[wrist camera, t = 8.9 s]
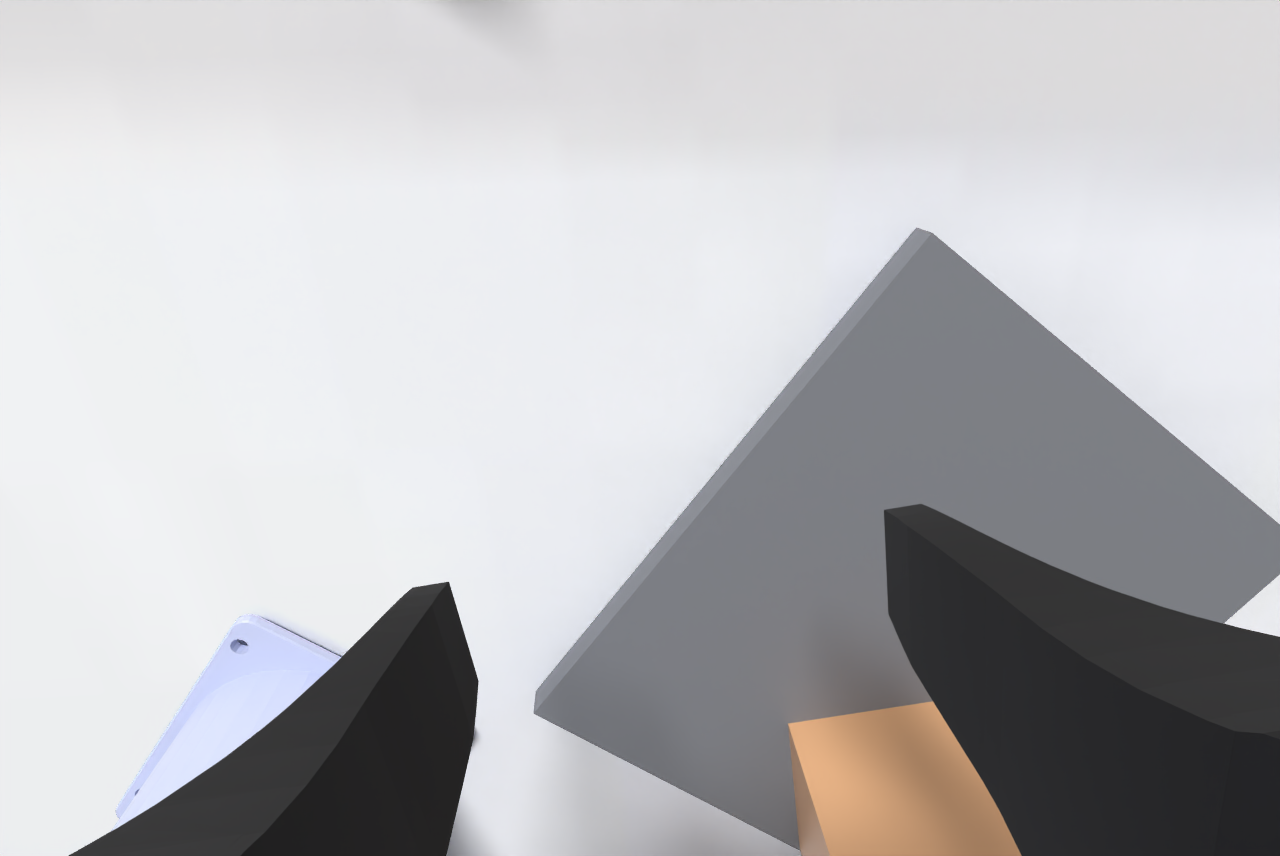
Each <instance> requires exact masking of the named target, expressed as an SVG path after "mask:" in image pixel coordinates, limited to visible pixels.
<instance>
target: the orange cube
mask: <svg viewBox="0 0 1280 856" xmlns="http://www.w3.org/2000/svg"><path fill="white" fill-rule="evenodd" d="M788 729H789V740H790V750H791V761H792V772H793V782H794V793H795V803H796V814H797V824H798V835H799V845H800V851H801V854H802V856H1021V854H1020V852H1019V849H1018V847H1017V845H1016V843H1015V841H1014V839H1013V837H1012V835H1011V833H1010V831H1009V829H1008V827H1007V825H1006V823H1005V821H1004V819H1003V817H1002V815H1001V813H1000V811H999V809H998V807H997V805H996V804H995V802H994V800H993V798H992V797H991V795H990V793H989V791H988V790H987V788H986V786H985V784H984V783H983V781H982V779H981V778H980V776H979V774H978V773H977V771H976V770H975V768H974V766H973V765H972V763H971V762H970V760H969V758H968V757H967V755H966V754H965V752H964V750H963V749H962V747H961V746H960V744H959V742H958V741H957V739H956V738H955V736H954V734H953V733H952V731H951V730H950V728H949V726H948V725H947V723H946V722H945V720H944V718H943V717H942V715H941V714H940V712H939V710H938V709H937V707H936V706H935V704H934V702H933V701H932V702H925V703H919V704H912V705H906V706H899V707H893V708H886V709H880V710H873V711H867V712H860V713H854V714H847V715H841V716H834V717H828V718H821V719H815V720H808V721H802V722H795V723H789V724H788Z"/></svg>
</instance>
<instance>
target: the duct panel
mask: <svg viewBox="0 0 1280 856" xmlns="http://www.w3.org/2000/svg"><path fill="white" fill-rule="evenodd" d="M916 504H923V505H926V506H928V507H930V508H933V509H935V510H937V511H939V512H941V513H943V514H945V515H947V516H949V517H951V518H953V519H956V520H958V521H960V522H962V523H964V524H966V525H967V526H969V527H971V528H973V529H975V530H977V531H979V532H981V533H983V534H985V535H987V536H990V537H992V538H994V539H996V540H998V541H1000V542H1002V543H1004V544H1006V545H1008V546H1010V547H1012V548H1014V549H1016V550H1018V551H1021V552H1023V553H1025V554H1027V555H1029V556H1031V557H1034V558H1036V559H1038V560H1040V561H1042V562H1045V563H1047V564H1049V565H1051V566H1054V567H1056V568H1059V569H1061V570H1063V571H1066V572H1068V573H1071V574H1073V575H1075V576H1078V577H1080V578H1083V579H1085V580H1087V581H1090V582H1093V583H1095V584H1098V585H1101V586H1103V587H1106V588H1109V589H1111V590H1114V591H1117V592H1120V593H1123V594H1126V595H1129V596H1132V597H1135V598H1138V599H1141V600H1144V601H1147V602H1150V603H1153V604H1156V605H1159V606H1162V607H1165V608H1168V609H1172V610H1175V611H1179V612H1182V613H1185V614H1189V615H1192V616H1196V617H1200V618H1204V619H1208V620H1212V621H1215V622H1219V623H1224V622H1226V621H1227V620H1228V619H1229V618H1230V617H1231V616H1232V615H1234V614H1235V613H1236V612H1237V611H1238V610H1239V609H1240V608H1242V607H1243V606H1244V605H1245V604H1246V603H1247V602H1248V601H1250V600H1251V599H1252V598H1253V597H1254V596H1255V595H1256V594H1258V593H1259V592H1260V591H1261V590H1262V589H1263V588H1264V587H1266V586H1267V585H1268V584H1269V583H1270V582H1271V581H1272V580H1274V579H1275V578H1276V577H1277V576H1278V575H1279V574H1280V524H1278V523H1277V522H1276V521H1275V520H1274V519H1272V518H1271V517H1270V516H1269V515H1268V514H1266V513H1265V512H1264V511H1263V510H1262V509H1261V508H1259V507H1258V506H1257V505H1256V504H1255V503H1253V502H1252V501H1251V500H1250V499H1249V498H1247V497H1246V496H1245V495H1244V494H1243V493H1241V492H1240V491H1239V490H1238V489H1237V488H1236V487H1234V486H1233V485H1232V484H1231V483H1230V482H1228V481H1227V480H1226V479H1225V478H1224V477H1222V476H1221V475H1220V474H1219V473H1218V472H1216V471H1215V470H1214V469H1213V468H1212V467H1210V466H1209V465H1208V464H1207V463H1206V462H1205V461H1203V460H1202V459H1201V458H1200V457H1199V456H1197V455H1196V454H1195V453H1194V452H1193V451H1191V450H1190V449H1189V448H1188V447H1187V446H1185V445H1184V444H1183V443H1182V442H1181V441H1180V440H1178V439H1177V438H1176V437H1175V436H1174V435H1172V434H1171V433H1170V432H1169V431H1168V430H1166V429H1165V428H1164V427H1163V426H1162V425H1160V424H1159V423H1158V422H1157V421H1156V420H1155V419H1153V418H1152V417H1151V416H1150V415H1149V414H1147V413H1146V412H1145V411H1144V410H1143V409H1141V408H1140V407H1139V406H1138V405H1137V404H1135V403H1134V402H1133V401H1132V400H1131V399H1129V398H1128V397H1127V396H1126V395H1125V394H1124V393H1122V392H1121V391H1120V390H1119V389H1118V388H1116V387H1115V386H1114V385H1113V384H1112V383H1110V382H1109V381H1108V380H1107V379H1106V378H1104V377H1103V376H1102V375H1101V374H1100V373H1099V372H1097V371H1096V370H1095V369H1094V368H1093V367H1091V366H1090V365H1089V364H1088V363H1087V362H1085V361H1084V360H1083V359H1082V358H1081V357H1079V356H1078V355H1077V354H1076V353H1075V352H1073V351H1072V350H1071V349H1070V348H1069V347H1068V346H1066V345H1065V344H1064V343H1063V342H1062V341H1060V340H1059V339H1058V338H1057V337H1056V336H1054V335H1053V334H1052V333H1051V332H1050V331H1048V330H1047V329H1046V328H1045V327H1044V326H1043V325H1041V324H1040V323H1039V322H1038V321H1037V320H1035V319H1034V318H1033V317H1032V316H1031V315H1029V314H1028V313H1027V312H1026V311H1025V310H1023V309H1022V308H1021V307H1020V306H1019V305H1017V304H1016V303H1015V302H1014V301H1013V300H1012V299H1010V298H1009V297H1008V296H1007V295H1006V294H1004V293H1003V292H1002V291H1001V290H1000V289H998V288H997V287H996V286H995V285H994V284H992V283H991V282H990V281H989V280H988V279H987V278H985V277H984V276H983V275H982V274H981V273H979V272H978V271H977V270H976V269H975V268H973V267H972V266H971V265H970V264H969V263H967V262H966V261H965V260H964V259H963V258H962V257H960V256H959V255H958V254H957V253H956V252H954V251H953V250H952V249H951V248H950V247H948V246H947V245H946V244H945V243H944V242H942V241H941V240H940V239H939V238H938V237H936V236H935V235H934V234H933V233H931V232H928V231H925V230H922V229H919V228H916V229H915V230H914V231H913V233H912V234H911V235H910V236H909V237H908V239H907V240H906V241H905V242H904V244H903V245H902V246H901V247H900V248H899V250H898V251H897V252H896V253H895V254H894V256H893V257H892V258H891V259H890V261H889V262H888V263H887V264H886V265H885V267H884V268H883V269H882V270H881V272H880V273H879V274H878V275H877V276H876V278H875V279H874V280H873V281H872V283H871V284H870V285H869V286H868V287H867V289H866V290H865V291H864V292H863V293H862V295H861V296H860V297H859V298H858V300H857V301H856V302H855V303H854V304H853V306H852V307H851V308H850V309H849V311H848V312H847V313H846V314H845V315H844V317H843V318H842V319H841V320H840V321H839V323H838V324H837V325H836V326H835V328H834V329H833V330H832V331H831V332H830V334H829V335H828V336H827V337H826V339H825V340H824V341H823V342H822V343H821V345H820V346H819V347H818V348H817V350H816V351H815V352H814V353H813V354H812V356H811V357H810V358H809V359H808V360H807V362H806V363H805V364H804V365H803V367H802V368H801V369H800V370H799V371H798V373H797V374H796V375H795V376H794V378H793V379H792V380H791V381H790V382H789V384H788V385H787V386H786V387H785V389H784V390H783V391H782V392H781V393H780V395H779V396H778V397H777V398H776V399H775V401H774V402H773V403H772V404H771V406H770V407H769V408H768V409H767V410H766V412H765V413H764V414H763V415H762V417H761V418H760V419H759V420H758V421H757V423H756V424H755V425H754V426H753V428H752V429H751V430H750V431H749V432H748V434H747V435H746V436H745V437H744V438H743V440H742V441H741V442H740V443H739V445H738V446H737V447H736V448H735V449H734V451H733V452H732V453H731V454H730V456H729V457H728V458H727V459H726V460H725V462H724V463H723V464H722V465H721V466H720V468H719V469H718V470H717V471H716V473H715V474H714V475H713V476H712V477H711V479H710V480H709V481H708V482H707V484H706V485H705V486H704V487H703V488H702V490H701V491H700V492H699V493H698V495H697V496H696V497H695V498H694V499H693V501H692V502H691V503H690V504H689V505H688V507H687V508H686V509H685V510H684V512H683V513H682V514H681V515H680V516H679V518H678V519H677V520H676V521H675V523H674V524H673V525H672V526H671V527H670V529H669V530H668V531H667V532H666V534H665V535H664V536H663V537H662V538H661V540H660V541H659V542H658V543H657V544H656V546H655V547H654V548H653V549H652V551H651V552H650V553H649V554H648V555H647V557H646V558H645V559H644V560H643V562H642V563H641V564H640V565H639V566H638V568H637V569H636V570H635V571H634V573H633V574H632V575H631V576H630V577H629V579H628V580H627V581H626V582H625V583H624V585H623V586H622V587H621V588H620V590H619V591H618V592H617V593H616V594H615V596H614V597H613V598H612V599H611V601H610V602H609V603H608V604H607V605H606V607H605V608H604V609H603V610H602V612H601V613H600V614H599V615H598V616H597V618H596V619H595V620H594V621H593V622H592V624H591V625H590V626H589V627H588V629H587V630H586V631H585V632H584V633H583V635H582V636H581V637H580V638H579V640H578V641H577V642H576V643H575V644H574V646H573V647H572V648H571V649H570V650H569V652H568V653H567V654H566V655H565V657H564V658H563V659H562V660H561V661H560V663H559V664H558V665H557V666H556V668H555V669H554V670H553V671H552V672H551V674H550V675H549V676H548V677H547V679H546V680H545V681H544V682H543V683H542V685H541V686H540V687H539V688H538V689H537V691H536V696H535V705H534V714H536V715H538V716H540V717H541V718H543V719H545V720H547V721H549V722H551V723H553V724H555V725H557V726H559V727H561V728H563V729H565V730H567V731H569V732H571V733H573V734H575V735H576V736H578V737H580V738H582V739H584V740H586V741H588V742H590V743H592V744H594V745H596V746H598V747H600V748H602V749H604V750H606V751H608V752H609V753H611V754H613V755H615V756H617V757H619V758H621V759H623V760H625V761H627V762H629V763H631V764H633V765H635V766H637V767H639V768H641V769H643V770H644V771H646V772H648V773H650V774H652V775H654V776H656V777H658V778H660V779H662V780H664V781H666V782H668V783H670V784H672V785H674V786H676V787H677V788H679V789H681V790H683V791H685V792H687V793H689V794H691V795H693V796H695V797H697V798H699V799H701V800H703V801H705V802H707V803H709V804H711V805H712V806H714V807H716V808H718V809H720V810H722V811H724V812H726V813H728V814H730V815H732V816H734V817H736V818H738V819H740V820H742V821H744V822H745V823H747V824H749V825H751V826H753V827H755V828H757V829H759V830H761V831H763V832H765V833H767V834H769V835H771V836H773V837H775V838H777V839H779V840H780V841H782V842H784V843H786V844H788V845H790V846H792V847H794V848H796V849H798V850H800V845H799V835H798V824H797V814H796V803H795V793H794V782H793V772H792V761H791V750H790V740H789V729H788V724H789V723H795V722H802V721H808V720H815V719H821V718H828V717H834V716H841V715H847V714H854V713H860V712H867V711H873V710H880V709H886V708H893V707H899V706H906V705H912V704H919V703H925V702H932V699H931V697H930V696H929V694H928V693H927V691H926V689H925V688H924V686H923V684H922V683H921V681H920V679H919V678H918V676H917V674H916V673H915V671H914V669H913V668H912V666H911V664H910V662H909V660H908V657H907V655H906V653H905V651H904V649H903V647H902V644H901V642H900V640H899V638H898V635H897V633H896V631H895V628H894V626H893V624H892V621H891V619H890V617H889V614H888V596H887V572H886V549H885V526H884V510H886V509H892V508H898V507H904V506H910V505H916Z"/></svg>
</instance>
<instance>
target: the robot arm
mask: <svg viewBox="0 0 1280 856" xmlns="http://www.w3.org/2000/svg"><path fill="white" fill-rule="evenodd" d="M884 526H885V549H886V572H887V596H888V614H889V617H890V619H891V621H892V624H893V626H894V628H895V631H896V633H897V635H898V638H899V640H900V642H901V644H902V647H903V649H904V651H905V653H906V655H907V657H908V660H909V662H910V664H911V666H912V668H913V669H914V671H915V673H916V674H917V676H918V678H919V679H920V681H921V683H922V684H923V686H924V688H925V689H926V691H927V693H928V694H929V696H930V697H931V699H932V701H933V702H934V704H935V706H936V707H937V709H938V710H939V712H940V714H941V715H942V717H943V718H944V720H945V722H946V723H947V725H948V726H949V728H950V730H951V731H952V733H953V734H954V736H955V738H956V739H957V741H958V742H959V744H960V746H961V747H962V749H963V750H964V752H965V754H966V755H967V757H968V758H969V760H970V762H971V763H972V765H973V766H974V768H975V770H976V771H977V773H978V774H979V776H980V778H981V779H982V781H983V783H984V784H985V786H986V788H987V790H988V791H989V793H990V795H991V797H992V798H993V800H994V802H995V804H996V805H997V807H998V809H999V811H1000V813H1001V815H1002V817H1003V819H1004V821H1005V823H1006V825H1007V827H1008V829H1009V831H1010V833H1011V835H1012V837H1013V839H1014V841H1015V843H1016V845H1017V847H1018V849H1019V852H1020V854H1021V856H1280V637H1277V636H1273V635H1268V634H1264V633H1260V632H1255V631H1251V630H1246V629H1242V628H1238V627H1234V626H1231V625H1227V624H1223V623H1219V622H1215V621H1212V620H1208V619H1204V618H1200V617H1196V616H1192V615H1189V614H1185V613H1182V612H1179V611H1175V610H1172V609H1168V608H1165V607H1162V606H1159V605H1156V604H1153V603H1150V602H1147V601H1144V600H1141V599H1138V598H1135V597H1132V596H1129V595H1126V594H1123V593H1120V592H1117V591H1114V590H1111V589H1109V588H1106V587H1103V586H1101V585H1098V584H1095V583H1093V582H1090V581H1087V580H1085V579H1083V578H1080V577H1078V576H1075V575H1073V574H1071V573H1068V572H1066V571H1063V570H1061V569H1059V568H1056V567H1054V566H1051V565H1049V564H1047V563H1045V562H1042V561H1040V560H1038V559H1036V558H1034V557H1031V556H1029V555H1027V554H1025V553H1023V552H1021V551H1018V550H1016V549H1014V548H1012V547H1010V546H1008V545H1006V544H1004V543H1002V542H1000V541H998V540H996V539H994V538H992V537H990V536H987V535H985V534H983V533H981V532H979V531H977V530H975V529H973V528H971V527H969V526H967V525H966V524H964V523H962V522H960V521H958V520H956V519H953V518H951V517H949V516H947V515H945V514H943V513H941V512H939V511H937V510H935V509H933V508H930V507H928V506H926V505H923V504H916V505H910V506H904V507H898V508H892V509H886V510H884ZM237 639H240V640H243V641H245V642H246V643H247V644H248V645H247V646H245V645H241V644H240V643H239V642H238V641H237ZM477 693H478V678H477V675H476V671H475V668H474V665H473V661H472V658H471V655H470V651H469V648H468V644H467V641H466V638H465V634H464V631H463V628H462V624H461V621H460V618H459V614H458V611H457V608H456V604H455V601H454V597H453V594H452V591H451V587H450V584H449V582H445V583H438V584H432V585H426V586H420V587H414V588H412V589H411V590H409V591H408V592H407V593H406V594H405V595H404V596H403V597H401V598H400V599H399V600H398V601H397V602H396V603H395V604H394V605H393V606H392V607H391V608H390V609H389V610H388V611H387V612H386V613H385V614H384V615H383V616H382V617H381V618H380V619H379V620H378V621H377V622H376V623H375V624H374V625H373V626H372V627H371V628H370V630H369V631H368V632H367V633H366V634H365V635H364V636H363V637H362V638H361V639H359V640H358V641H357V642H356V643H355V644H354V645H353V646H352V647H351V648H350V649H349V650H348V651H347V652H346V653H345V654H344V655H343V656H342V657H340V656H338V655H336V654H334V653H332V652H330V651H328V650H326V649H324V648H322V647H320V646H318V645H316V644H314V643H312V642H310V641H308V640H306V639H304V638H302V637H300V636H298V635H296V634H294V633H292V632H290V631H288V630H286V629H284V628H282V627H280V626H278V625H276V624H274V623H272V622H270V621H268V620H266V619H264V618H262V617H260V616H256V615H253V614H246V615H243V616H240V617H239V618H238V619H237V620H236V621H235V623H234V624H233V625H232V627H231V628H230V630H229V631H228V633H227V635H226V636H225V638H224V639H223V641H222V642H221V644H220V646H219V647H218V649H217V650H216V652H215V653H214V655H213V657H212V658H211V660H210V661H209V663H208V664H207V666H206V668H205V669H204V671H203V672H202V674H201V675H200V677H199V679H198V680H197V682H196V683H195V685H194V686H193V688H192V690H191V691H190V693H189V694H188V696H187V697H186V699H185V701H184V702H183V704H182V705H181V707H180V708H179V710H178V711H177V713H176V715H175V716H174V718H173V719H172V721H171V722H170V724H169V726H168V727H167V729H166V730H165V732H164V733H163V735H162V737H161V738H160V740H159V741H158V743H157V744H156V746H155V748H154V749H153V751H152V752H151V754H150V755H149V757H148V759H147V760H146V762H145V763H144V765H143V766H142V768H141V770H140V771H139V773H138V774H137V776H136V777H135V779H134V781H133V782H132V784H131V785H130V787H129V788H128V790H127V792H126V793H125V795H124V796H123V798H122V799H121V801H120V802H119V804H118V806H117V808H116V815H117V817H118V818H119V820H118V822H117V823H116V825H115V826H114V828H113V829H112V830H111V832H109V833H108V834H106V835H104V836H102V837H101V838H99V839H97V840H95V841H94V842H92V843H90V844H88V845H87V846H85V847H83V848H81V849H80V850H78V851H76V852H74V853H73V854H71V855H69V856H446V854H447V850H448V846H449V841H450V837H451V833H452V829H453V824H454V820H455V816H456V812H457V807H458V803H459V799H460V795H461V790H462V786H463V782H464V777H465V773H466V769H467V764H468V760H469V755H470V751H471V746H472V741H473V736H474V726H475V717H476V706H477Z"/></svg>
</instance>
